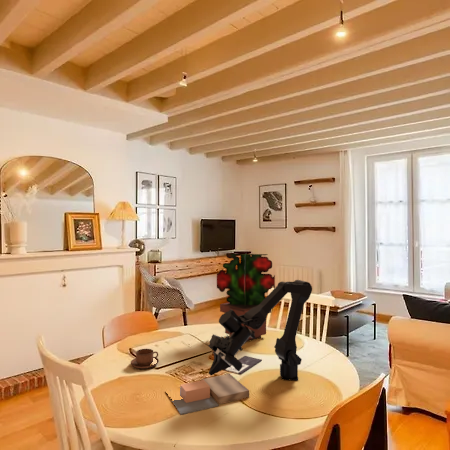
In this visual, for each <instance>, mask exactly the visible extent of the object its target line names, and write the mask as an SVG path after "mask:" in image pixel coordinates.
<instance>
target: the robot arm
mask: <svg viewBox="0 0 450 450" xmlns="http://www.w3.org/2000/svg"><path fill="white" fill-rule="evenodd" d="M312 292H313V286H312V284H311V283H310V282H308V281H304V280H301V279H300V280H299V279H295V280H293V281H283V280H282V281H279V282H278V283H277V285H276V286H275V289H274V288H273V289H272V291H270V292H269V293H268V295H267V296H265V297H266V298H265V299H264V300H263V301H262V302H261V303H260V304H259V305H258V306H256V307H253V308H251V309H250V310H249V311H247V312H246V313H245V314H244V315H240V316H238V315H237V314H236V313H235V312H234V311H233V310H231V309H230V310H229V311H228V312H226V313H224V312H223V313H222V314H221V315H220V317H219V318H218V323H219V325H221V326H222V327H223V328H224V330H225V329H226V330H227V331H228V332H229V333H232V332H233V333H232V335H231V336H230V335H227V336H225V337H224V336H219V335H216V334H213V333H212V335H211V337H210V338H211V339H210V341H209V344H208V348H210V349H211V350H212V351H213V352H212V354H213V359H212V360H213V361H212V362H211V366H210V369H209V371H208V374H209V376H213V375H215V374H217V373H219V372H221V371H225V370H224V369H226V368H228V367H231V366H230V364H231V365H232V366H233V367H234V368H235V369H236V370H237V371H240V370H241V368H242V363H241V362H240V361H239V360H238V358H237V357H236V355H237V354H238V352H239V351H240V352H242V351H243V348H242V347H243V346H244V345H245V343H247V342H248V341H247V339H248V338H249V337H251V338H253V339H255V331H253V330H250V329H249V328H248V327H246V326H249V327H251V328H252V329H259V328H260V327H261V326H262V325H263V323H264V322H265V321H266V322H267V318H268V314H270V313H269V312H270V311H271V312H272V310H273V309H274V308H275V307H276V306H277V305H278V304H279V303H280V302H281V301H282V300H283V298H284V297H285V296H286V295H287V294H288V293H290V297H291V303H290V307H289V312H288V316H287V317H286V318H287V319H286V323H285V326H284V327H285V328H284V330H283V331H284V332H283V334H282V335H281V337H280V338H278V337H276V340H275V344H274V352H275V355H276V356H277V358H278V360H280V361H281V363H280V364H279V376H280V377H281V380H282V379H288V380H287V381H299V377H298V376H299V373H298V372H299V371H298V370H299V369H298V368H299V365H301V363H302V360H303V359H302V358H301V357H300V355H298V354H297V350H298V349H297V348H298V347H297V341H296V337H297V333H298V329H299V326H300V325H299V324H300V321H301V317H302V314H303V309H304V305H305V304H306V303H307V301H308V300H309V299H310V297H311V294H312ZM241 324H244V325H246V326H242V325H241ZM255 340H256V339H255ZM246 341H247V342H246ZM289 379H290V380H289Z"/></svg>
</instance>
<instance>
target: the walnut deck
mask: <svg viewBox="0 0 450 450" xmlns="http://www.w3.org/2000/svg"><path fill="white" fill-rule="evenodd" d="M201 380H204V381H205V382H206V383H207V384H208V385H209V386H210V396H211V397H212V398H213V399H214V400H215V402H216V403H217V404H218V405H222V404H227V403H230V402H235V401H239V400H240V401H241V400H244V399H247V398H246V397H248V398H250V390H249V388H247V387H246V386H244V385H243V384H242V383H241V382H240V380H238V379H236V378H235V377H234V376H233V375H232V374H231V373H226V374H222V375H221V374H220V375H216V376H212V377H205V378H201ZM201 380H200V381H201ZM243 398H244V399H243Z"/></svg>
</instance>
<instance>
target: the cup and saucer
mask: <svg viewBox="0 0 450 450" xmlns="http://www.w3.org/2000/svg"><path fill="white" fill-rule="evenodd" d="M135 352H136V353H135V358H133V359H132V360H130V365H131V366H132V367H133V368H136V369H141V370H142V369H149V368H153V367H155V366H157V364H159V358H158V357H159V352H158V351H154V349H152V348H141V349H138V350H136V351H135ZM154 354H156V356H154ZM153 358H155V359H156V360H157V363H156V364H154V365H151V366H150V364H151V363H152V362H153Z"/></svg>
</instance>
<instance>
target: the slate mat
mask: <svg viewBox="0 0 450 450" xmlns="http://www.w3.org/2000/svg"><path fill="white" fill-rule="evenodd" d="M171 402H173V403H174V404H173V403H172V404H173V405H175V406H176V407H175V406H174V407H175V409H176V408H177V409H176V410H177V412H178V413H179V414H180V415H187V414H190V413H194V412H199V411H203V410H207V409H211V408H215V407H219V405H220V404H218V403H217V402H216V401H215V400H214V399H213V398H212V397H211V396H210V398H206V399H202V400H197V401H193V402H188V403H186V402H185V401H184V400H183V399H181V400H174V401H171Z"/></svg>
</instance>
